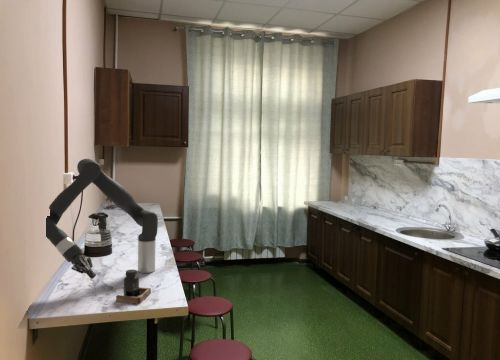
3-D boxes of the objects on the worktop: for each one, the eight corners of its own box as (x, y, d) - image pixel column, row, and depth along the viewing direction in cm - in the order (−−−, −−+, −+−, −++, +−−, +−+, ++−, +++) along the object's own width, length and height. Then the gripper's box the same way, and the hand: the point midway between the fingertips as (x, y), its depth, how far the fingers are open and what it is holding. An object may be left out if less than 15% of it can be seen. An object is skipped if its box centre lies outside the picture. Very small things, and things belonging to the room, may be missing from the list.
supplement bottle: (138, 293, 179) (138, 268, 178) (139, 298, 173) (139, 272, 172) (123, 294, 177) (123, 269, 176) (123, 300, 170) (123, 273, 170)
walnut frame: (128, 291, 181) (128, 286, 181) (150, 293, 179) (150, 288, 179) (116, 301, 169) (116, 295, 169) (139, 303, 167) (140, 298, 167)
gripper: (65, 247, 170) (91, 276, 170) (82, 240, 183) (106, 267, 183) (54, 258, 171) (80, 287, 171) (72, 250, 184) (96, 277, 184)
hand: (94, 277), depth 177 cm, fingers closed
